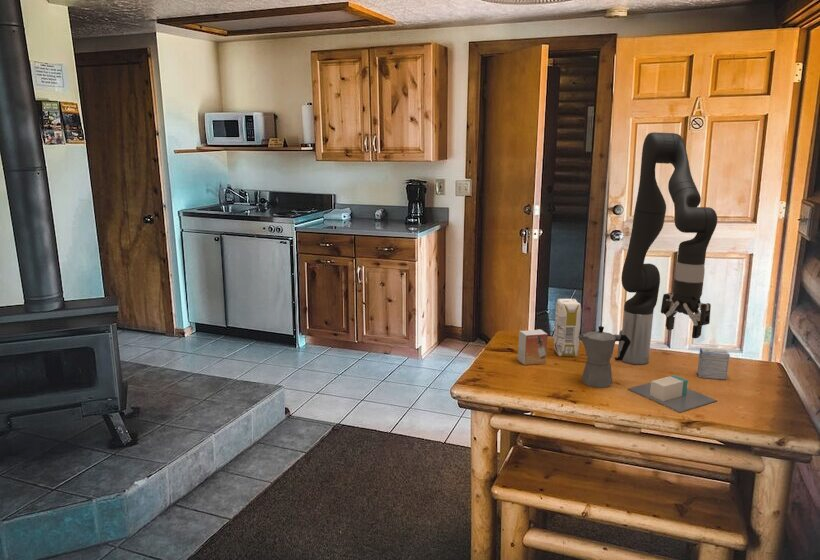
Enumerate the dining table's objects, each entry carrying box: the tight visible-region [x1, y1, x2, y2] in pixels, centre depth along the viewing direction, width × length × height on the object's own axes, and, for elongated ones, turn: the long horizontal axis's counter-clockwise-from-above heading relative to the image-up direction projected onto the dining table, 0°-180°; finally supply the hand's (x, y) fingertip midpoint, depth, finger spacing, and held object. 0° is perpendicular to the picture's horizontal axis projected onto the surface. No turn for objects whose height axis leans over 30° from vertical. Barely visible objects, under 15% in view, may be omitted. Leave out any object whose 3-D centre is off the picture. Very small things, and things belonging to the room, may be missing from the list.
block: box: [650, 374, 689, 401], centre depth 175 cm, size 4×4×10 cm
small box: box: [517, 328, 549, 366], centre depth 201 cm, size 8×6×10 cm
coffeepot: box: [578, 325, 630, 389], centre depth 183 cm, size 15×9×18 cm, turn 82°
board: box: [627, 382, 718, 414], centre depth 176 cm, size 18×16×1 cm
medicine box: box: [697, 347, 731, 381], centre depth 190 cm, size 8×4×9 cm, turn 74°
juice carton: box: [553, 298, 582, 358], centre depth 209 cm, size 8×9×19 cm
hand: (682, 333), depth 172 cm, fingers open, 8 cm apart
